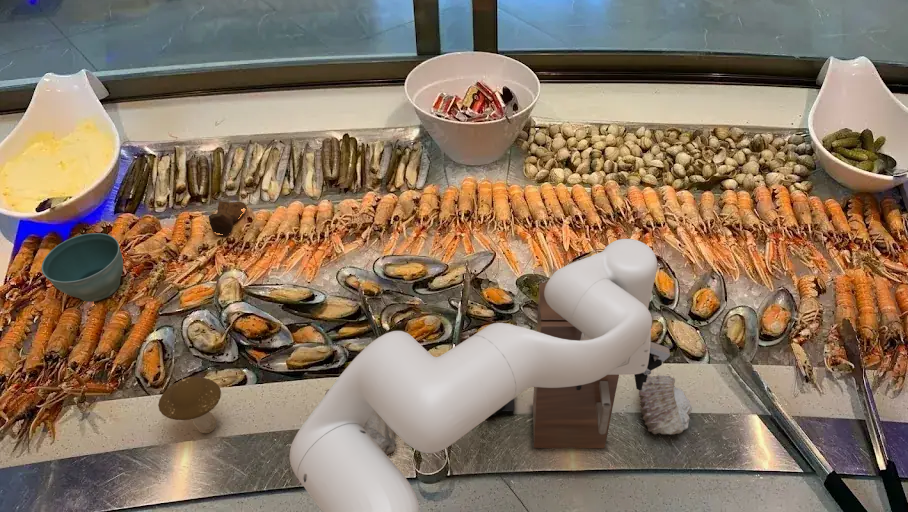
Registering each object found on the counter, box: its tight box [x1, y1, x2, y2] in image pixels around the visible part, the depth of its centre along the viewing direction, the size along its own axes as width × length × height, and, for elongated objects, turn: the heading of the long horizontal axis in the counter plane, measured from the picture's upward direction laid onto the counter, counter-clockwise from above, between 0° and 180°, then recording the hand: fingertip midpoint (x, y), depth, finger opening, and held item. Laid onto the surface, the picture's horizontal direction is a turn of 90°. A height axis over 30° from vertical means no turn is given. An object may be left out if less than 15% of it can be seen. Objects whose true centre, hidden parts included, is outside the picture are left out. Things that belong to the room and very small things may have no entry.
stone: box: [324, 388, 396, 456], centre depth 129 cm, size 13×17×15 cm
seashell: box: [638, 374, 693, 435], centre depth 135 cm, size 14×9×10 cm
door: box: [533, 322, 620, 449], centre depth 117 cm, size 7×14×38 cm, turn 90°
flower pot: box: [41, 232, 124, 303], centre depth 158 cm, size 16×16×11 cm
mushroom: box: [157, 376, 222, 434], centre depth 129 cm, size 9×11×15 cm
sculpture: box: [208, 200, 248, 238], centre depth 176 cm, size 8×10×15 cm
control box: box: [490, 398, 515, 417], centre depth 138 cm, size 11×10×4 cm
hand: (607, 382), depth 107 cm, fingers open, 9 cm apart
